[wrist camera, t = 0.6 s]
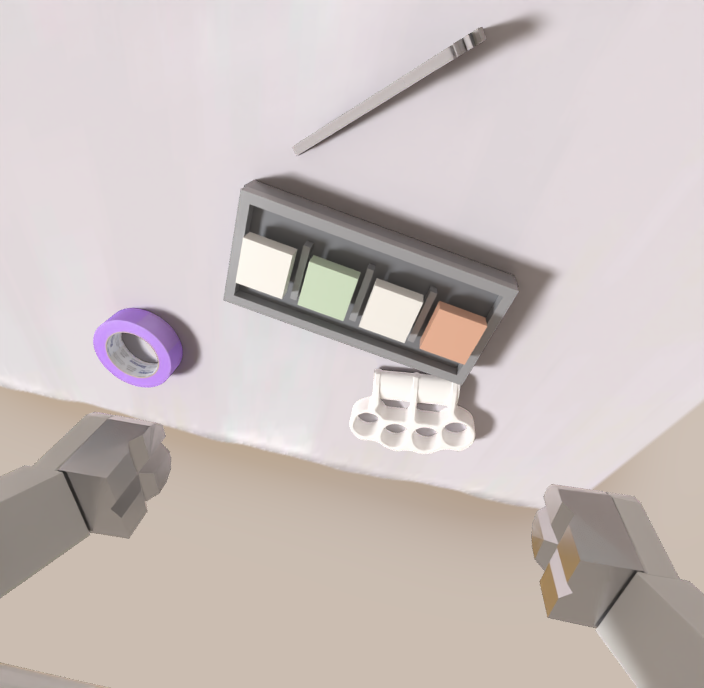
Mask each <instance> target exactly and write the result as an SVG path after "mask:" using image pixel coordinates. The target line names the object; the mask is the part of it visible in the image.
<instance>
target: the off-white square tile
mask: <svg viewBox="0 0 704 688" xmlns="http://www.w3.org/2000/svg"><path fill="white" fill-rule="evenodd" d="M422 304H423V295H422V294H419V293H417V292H414V291H411V290H408V289H406V288H403V287H400V286H397V285H395V284H392V283H389V282H386V281H384V280H381V279H378V278H377V279H376V281H375V284H374V287H373V289H372V292H371V294H370V297H369V300H368V302H367V305H366V308H365V310H364V313H363V315H362V318H361V321H360V325H359V327H361V328H363V329H366V330H369V331H372V332H375V333H377V334H380V335H383V336H386V337H388V338H391V339H394V340H397V341H400V342H402V343H405V341H406V338H407V336H408V334H409V332H410V330H411V328H412V326H413V323H414V321H415V319H416V317H417V315H418V313H419V311H420V309H421V306H422Z"/></svg>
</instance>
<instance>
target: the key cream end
mask: <svg viewBox="0 0 704 688" xmlns="http://www.w3.org/2000/svg"><path fill="white" fill-rule="evenodd" d="M296 253H297V249H296V248H293V247H290V246H287V245H285V244H282V243H279V242H276V241H274V240H271V239H268V238H265V237H263V236H260V235H257V234H254V233H252V232H249V233H248V234H247V235H246V236H244V237H243V241H242V247H241V253H240V259H239V265H238V270H237V276H236V282H235V283H238V284H241V285H244V286H247V287H249V288H252V289H255V290H258V291H260V292H263V293H266V294H269V295H272V296H274V297H277V298H280V299H282V298H283V297H284V295H285V294H286V292H287V289H288V285H289V281H290V277H291V273H292V269H293V265H294V261H295V257H296Z"/></svg>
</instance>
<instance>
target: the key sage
mask: <svg viewBox="0 0 704 688" xmlns="http://www.w3.org/2000/svg"><path fill="white" fill-rule="evenodd" d="M360 273H361V272H359V271H356V270H353V269H351V268H348V267H345V266H342V265H340V264H337V263H334V262H331V261H329V260H326V259H323V258H320V257H318V256H315V255H313V257H312V258H311V260H310V261H309V264H308V268H307V272H306V275H305V279H304V283H303V286H302V290H301V294H300V297H299V301H298V305H299V306H302V307H305V308H308V309H311V310H313V311H316V312H319V313H322V314H324V315H327V316H330V317H333V318H336V319H338V320H341V321H344V318H345V315H346V313H347V310H348V307H349V304H350V301H351V299H352V296H353V293H354V290H355V287H356V284H357V282H358V279H359V276H360Z"/></svg>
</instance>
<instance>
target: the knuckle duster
mask: <svg viewBox="0 0 704 688" xmlns="http://www.w3.org/2000/svg"><path fill="white" fill-rule="evenodd" d="M459 392H460V385H459V384H456V383H453V382H450V381H448V380H445V379H442V378H439V377H436V376H434V375H428V374H419V373H418V372H414V373H407V372H396V371H386V370H382V369H375V370H374V378H373V395H372V396H370V397H365V398H362V399H360V400H358V401H357V402H356V403H355V404H354V406H353V409H352V413H351V418H350V423H349V424H350V429H351V431H352V433H353V434H354V435H355V436H356V437H358V438H359V439H361V440H372V441H376V442H378V443H380V444H382V445H383V446H384V447H385V448H388V449H391V450H394V451H403V450H408V451H414V452H416V453H419V454H430V453H434V452H436V451H439V450H446V449H448V450H455V451H462V450H465V449H467V448H468V447H470V446H471V445H472V443H473V442H474V440H475V427H474V419H473V416H472V415H471V413H470V412H469V411H468V410H466V409H464V408H462V407H460V406H458V405H457V403H458V398H459ZM380 399H388V400H398V401H407V402H410V406H409V407H408V408H398V407H389V406H386V405H385V404H384V402H383V401H381V400H380ZM417 403H427V404H437V405H447V406H448V407H446V408H444V409H442V410H441V411H439V412H435V411H426V410H419V409H418V408H417ZM362 413H371V414H374V415H376V416H377V417H378V418H379V420H377V421H375V422H365V421H363V420H361V419H360V418H359V417H358V415H360V414H362ZM450 423H461V424H464V425H466V426H467V428H466V429H465V430H463V431H461V432H452V431H449V430H447V429H446V428H445V426H446V425H448V424H450ZM391 424H399V425H402V426H404V427H405V428H406V429H405V430H404V431H402V432H399V433H395V432H391V431H389V430H387V429H386V428H385V427H386V426H388V425H391ZM423 427H427V428H431V429H433V430H435V431H436V432H437V433H436V434H435V435H432V436H423V435H420V434H418V433H417V432H416V429H418V428H423Z"/></svg>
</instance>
